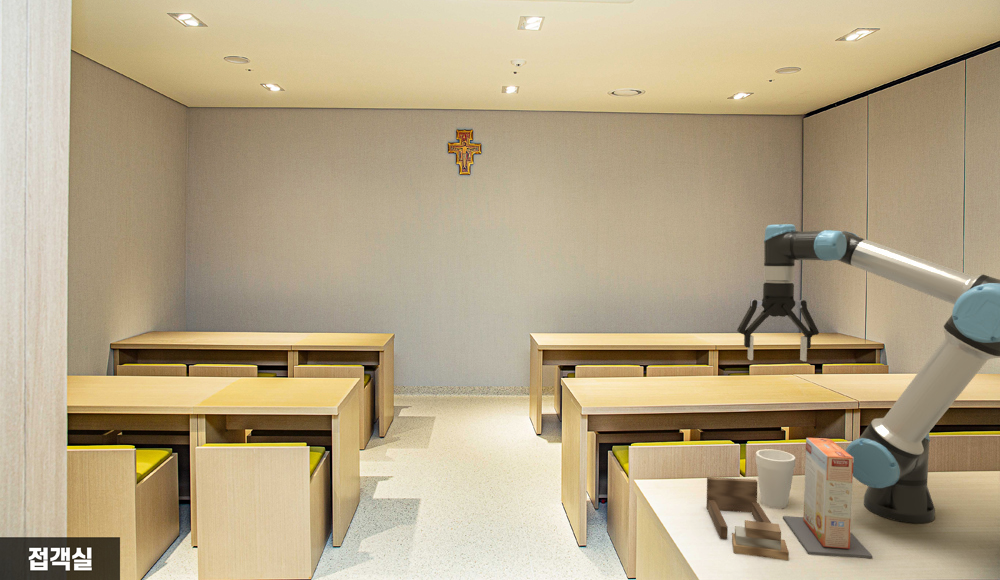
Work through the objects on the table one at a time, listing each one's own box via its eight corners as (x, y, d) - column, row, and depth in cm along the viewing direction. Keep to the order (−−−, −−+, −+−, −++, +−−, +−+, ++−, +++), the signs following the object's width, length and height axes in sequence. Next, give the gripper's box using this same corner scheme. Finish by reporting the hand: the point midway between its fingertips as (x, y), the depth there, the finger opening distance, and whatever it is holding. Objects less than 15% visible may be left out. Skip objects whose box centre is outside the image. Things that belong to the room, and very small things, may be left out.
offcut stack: (784, 548, 135) (785, 522, 135) (788, 561, 130) (789, 534, 129) (732, 541, 139) (732, 516, 138) (733, 554, 133) (734, 527, 133)
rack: (755, 510, 155) (755, 479, 154) (775, 542, 138) (776, 508, 137) (706, 507, 157) (707, 477, 156) (720, 538, 139) (721, 505, 139)
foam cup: (793, 500, 161) (795, 452, 160) (794, 513, 153) (796, 463, 152) (755, 494, 165) (756, 447, 164) (753, 507, 157) (755, 458, 156)
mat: (838, 521, 148) (838, 519, 148) (872, 558, 130) (872, 555, 130) (782, 518, 150) (782, 515, 150) (808, 554, 132) (808, 551, 132)
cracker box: (852, 550, 133) (855, 457, 131) (822, 548, 134) (825, 455, 132) (829, 522, 146) (831, 437, 145) (802, 520, 147) (804, 436, 146)
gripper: (822, 281, 165) (820, 358, 166) (727, 281, 168) (725, 356, 170) (833, 282, 157) (831, 363, 158) (733, 282, 161) (731, 361, 162)
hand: (776, 360), depth 164 cm, fingers open, 13 cm apart
